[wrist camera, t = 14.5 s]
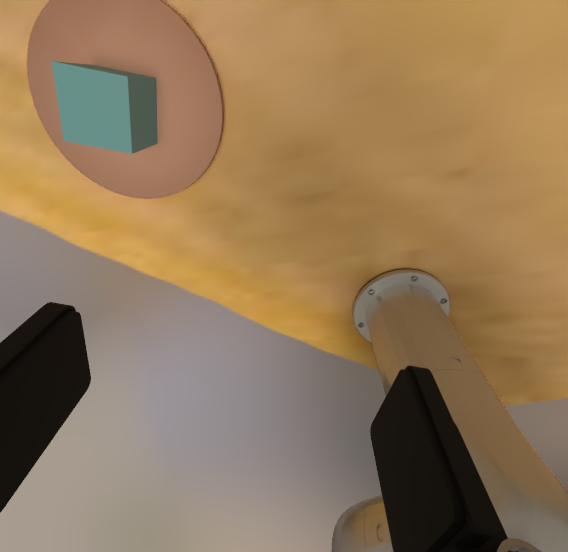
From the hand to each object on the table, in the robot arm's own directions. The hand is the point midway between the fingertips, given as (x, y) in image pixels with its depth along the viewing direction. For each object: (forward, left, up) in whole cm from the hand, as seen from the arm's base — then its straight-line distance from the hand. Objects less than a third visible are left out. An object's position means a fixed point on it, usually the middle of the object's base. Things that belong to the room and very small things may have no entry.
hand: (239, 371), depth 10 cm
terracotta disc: (+16, +5, -30) cm, 35 cm away
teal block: (+16, +5, -29) cm, 34 cm away
